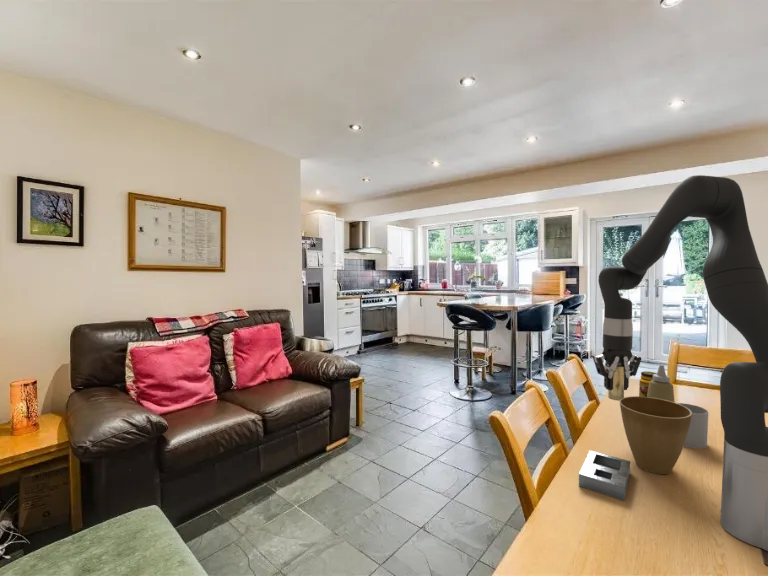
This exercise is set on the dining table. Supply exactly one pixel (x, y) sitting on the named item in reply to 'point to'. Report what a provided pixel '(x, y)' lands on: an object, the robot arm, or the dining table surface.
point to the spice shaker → (617, 383)
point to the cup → (697, 427)
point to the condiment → (645, 383)
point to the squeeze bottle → (661, 386)
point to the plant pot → (655, 431)
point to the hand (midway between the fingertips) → (616, 389)
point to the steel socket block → (605, 474)
